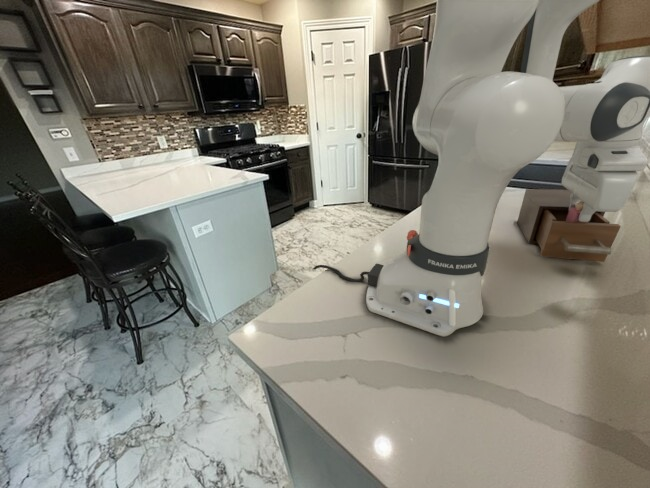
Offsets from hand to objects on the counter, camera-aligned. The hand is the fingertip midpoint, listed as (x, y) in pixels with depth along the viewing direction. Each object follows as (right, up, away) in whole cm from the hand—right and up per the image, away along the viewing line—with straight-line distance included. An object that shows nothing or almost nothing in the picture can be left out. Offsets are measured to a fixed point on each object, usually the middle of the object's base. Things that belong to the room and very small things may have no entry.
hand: (577, 216), depth 59 cm
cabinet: (+5, -3, +14) cm, 15 cm away
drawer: (+1, -8, +4) cm, 9 cm away
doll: (0, -2, +1) cm, 2 cm away
